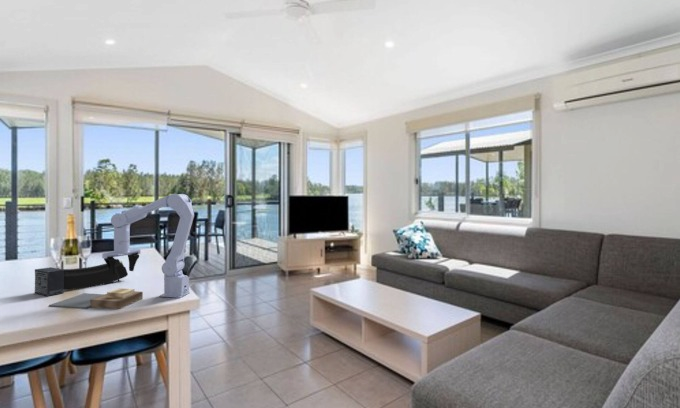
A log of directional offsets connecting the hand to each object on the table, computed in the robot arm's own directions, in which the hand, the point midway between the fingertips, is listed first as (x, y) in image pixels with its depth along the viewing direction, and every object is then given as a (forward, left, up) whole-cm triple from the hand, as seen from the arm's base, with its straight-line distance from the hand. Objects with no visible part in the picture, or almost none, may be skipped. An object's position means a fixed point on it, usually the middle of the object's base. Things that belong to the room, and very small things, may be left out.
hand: (122, 272), depth 148 cm
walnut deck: (-6, +10, -10) cm, 15 cm away
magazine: (+24, -10, -10) cm, 28 cm away
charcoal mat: (+8, +10, -10) cm, 16 cm away
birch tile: (-8, +10, -7) cm, 14 cm away
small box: (+32, +3, -10) cm, 34 cm away
